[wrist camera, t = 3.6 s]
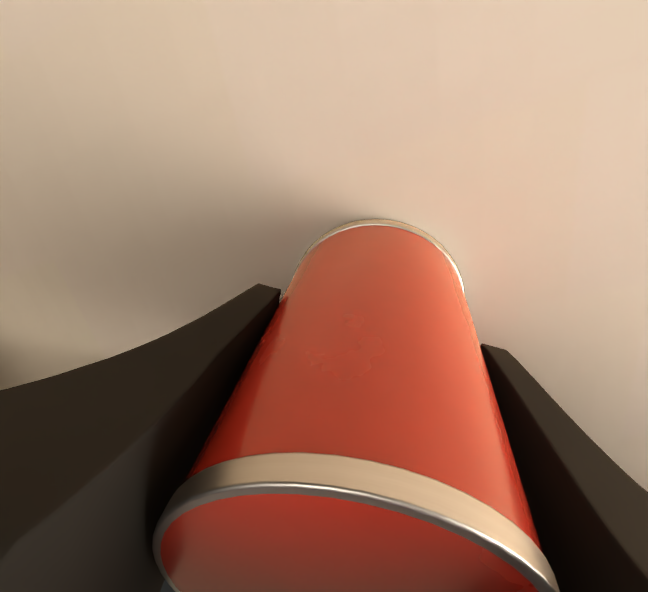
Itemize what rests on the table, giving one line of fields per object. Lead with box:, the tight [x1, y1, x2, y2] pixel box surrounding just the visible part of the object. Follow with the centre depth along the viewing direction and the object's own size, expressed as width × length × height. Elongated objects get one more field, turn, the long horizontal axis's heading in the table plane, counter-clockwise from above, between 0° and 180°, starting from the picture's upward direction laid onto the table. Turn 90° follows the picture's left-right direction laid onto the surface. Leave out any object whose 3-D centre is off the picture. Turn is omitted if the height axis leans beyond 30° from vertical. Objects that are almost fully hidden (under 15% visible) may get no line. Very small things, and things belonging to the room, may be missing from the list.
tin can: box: [152, 219, 560, 592], centre depth 8 cm, size 5×5×8 cm
